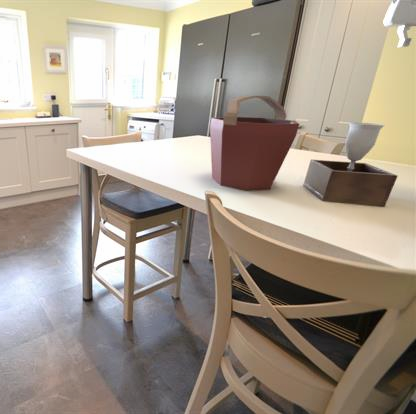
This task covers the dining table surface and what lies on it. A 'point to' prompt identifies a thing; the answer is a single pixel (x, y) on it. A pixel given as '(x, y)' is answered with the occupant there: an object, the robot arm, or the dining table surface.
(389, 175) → the bin
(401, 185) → the dining table surface
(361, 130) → the chalice
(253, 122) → the bucket
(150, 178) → the dining table surface
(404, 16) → the robot arm
